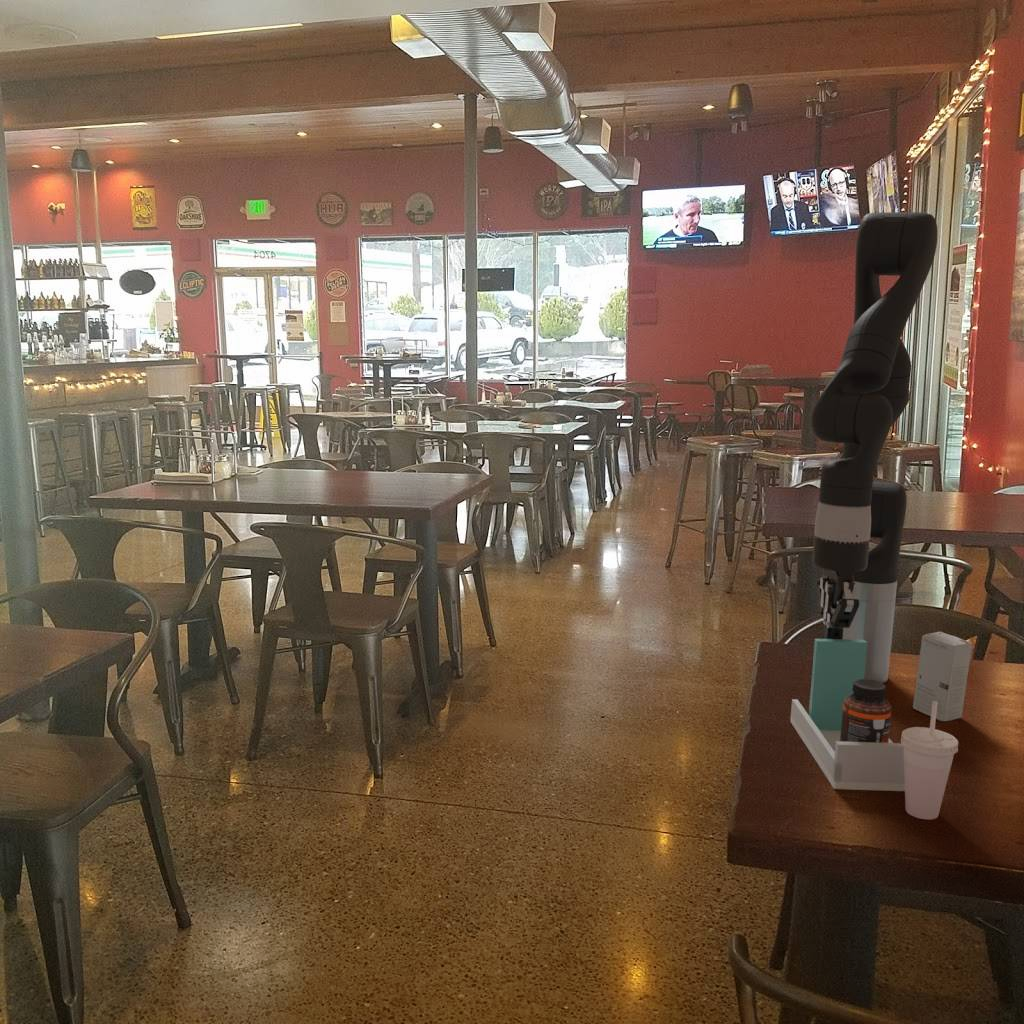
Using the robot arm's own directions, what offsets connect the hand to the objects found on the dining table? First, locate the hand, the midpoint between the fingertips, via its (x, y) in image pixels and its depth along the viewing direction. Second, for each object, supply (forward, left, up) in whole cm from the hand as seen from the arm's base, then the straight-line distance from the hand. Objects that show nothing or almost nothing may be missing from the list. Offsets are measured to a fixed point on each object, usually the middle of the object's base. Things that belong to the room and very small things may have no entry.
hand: (832, 651), depth 144 cm
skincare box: (-7, +19, -12) cm, 23 cm away
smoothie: (+26, +4, -12) cm, 29 cm away
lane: (+9, 0, -12) cm, 15 cm away
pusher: (+3, 0, -10) cm, 11 cm away
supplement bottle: (+15, 0, -11) cm, 19 cm away
